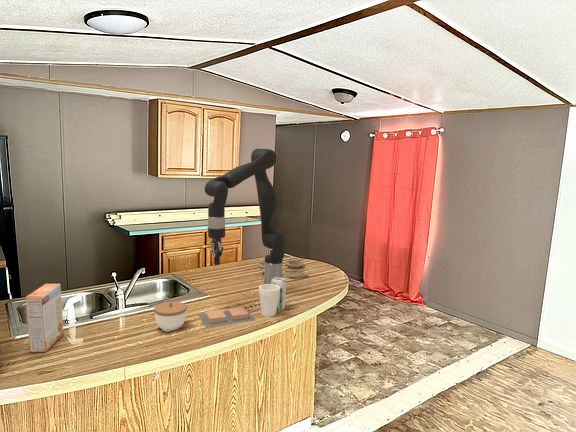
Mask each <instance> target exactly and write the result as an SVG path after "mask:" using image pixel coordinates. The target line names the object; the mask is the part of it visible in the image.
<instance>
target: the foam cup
mask: <svg viewBox="0 0 576 432" xmlns="http://www.w3.org/2000/svg"><path fill="white" fill-rule="evenodd" d="M279 293H280V287H279V286H278V285H274V284H264V283H263V284H261V285H259V287H258V294H259V301H260V313H261V316H263V317H273V316H276V315H277V304H278V299H279Z"/></svg>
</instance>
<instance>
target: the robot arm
mask: <svg viewBox="0 0 576 432" xmlns="http://www.w3.org/2000/svg"><path fill="white" fill-rule="evenodd" d="M276 163H277V154H276V152H275V151H274V150H273V149H270V148H255V149H253V151H252V152H251V155H250V162H247V163H244V164H241V165H239V166H237V167H234V168H233V169H232V168H231V169H230V170H229V171H227V172H225V173H224V174H222V175H219V176H216V177H214V178H212V179H210V180H208V181H207V183H205V185H204V193H205V194H206V195H207V196H209V197H213V201H212V202H210V203H209V204H208V209H207V214H208V215H207V216H208V218H207V237H208V238H209V239H211V241H210V248H211V253H212V256H213V264H214V266H220V264H221V262H220V261H221V260H220V258H221V257H222V254H223V252H224V247H223V242H222V239H224V238H225V237H226V217H225V213H226V212H225V211H226V209H225V206H226V203H227V199H228V194H229V189H232V188H235V187H236V186H238V185H240V184H241V183H243V182H244V181H246V180H248V179H249V178H251V177H253V176H254V179H255V186H256V191H257V192H256V194H257V199H258V200H257V201H258V207H259V213H260V214H259V215H260V224H261V226H260V227H261V242H262V245H263V246H264V247H265V248H268V249H271V253H270V254H267V255H265V257H264V262H265V268H264V273H263V284H271V280H272V279H273V278H274V277H278V278H284V276H283V260H284V257H285V249H286V236H285V234H284V232H281V231H277V230H274V228H273V225H274V224H273V220H274V216H275V214H276V212H277V208H278V198H277V193H276V189H275V188H274V186H273V183H272V182H271V181H270V180H269V177H268V174H267V170H269V169H271V168H272V167H274V166H275V164H276Z"/></svg>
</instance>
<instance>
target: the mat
mask: <svg viewBox="0 0 576 432" xmlns="http://www.w3.org/2000/svg"><path fill="white" fill-rule="evenodd" d="M244 309H245V310H246V311H247V312H248V314H249V318H248V319H243V320H236V321H233V320H232V319H231V317H230V316H229V315H228V310H222V311H223V313H224V314H225V316H226V322H221V323H214V324H210V323H209V321H208V320H207V318H206V313H200V314H199V313H198V314H197V315H198V317H199V319H200V322H202V324H203V327H204V328H212V327H218V326H224V325H231V324H238V323H247V322H253V321H256V319H255V318H254V317H253V315H252V314H251V313H250V312H249V311H248V310H247V308H244Z"/></svg>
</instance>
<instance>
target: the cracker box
mask: <svg viewBox="0 0 576 432" xmlns="http://www.w3.org/2000/svg"><path fill="white" fill-rule="evenodd" d="M25 306H26V307H25V308H26V317H27V318H26V319H27V328H28V329H27V331H28V332H27V333H28V343H29V352H30V353H47V352H48V351H49V350H50V349H51V348H52V347H53V346H54V345H55V344H56V343H57V342H58V341H59V340H60V339H61V338H62V337H63V336H64V335H65V332H64V319H63V316H64V315H63V303H62V286H61V283H44V284H43V285H42V286H40V287H39V288H37V289H35V290H34V291H32V292H31V293H30V294H27V295H26V296H25Z"/></svg>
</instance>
